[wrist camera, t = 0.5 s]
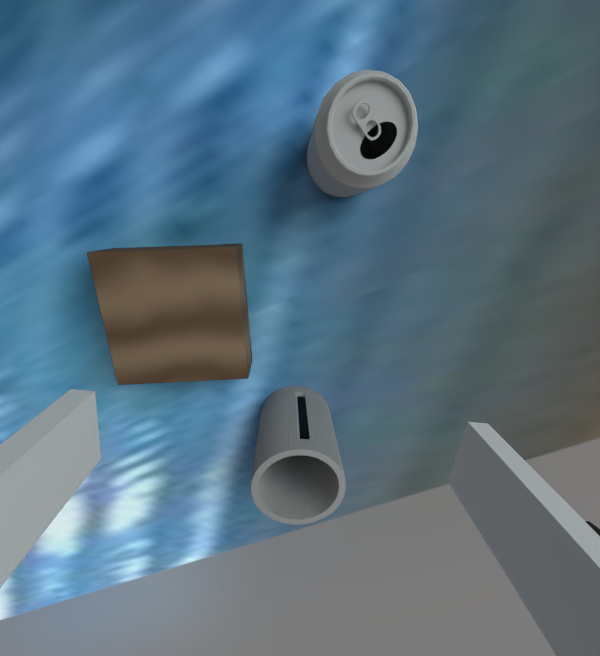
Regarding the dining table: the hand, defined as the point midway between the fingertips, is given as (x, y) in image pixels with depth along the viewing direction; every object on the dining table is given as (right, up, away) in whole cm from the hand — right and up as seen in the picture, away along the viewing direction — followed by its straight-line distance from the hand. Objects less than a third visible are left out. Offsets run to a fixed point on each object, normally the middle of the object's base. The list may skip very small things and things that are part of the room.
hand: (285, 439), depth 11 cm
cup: (0, -8, +31) cm, 32 cm away
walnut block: (-13, +6, +26) cm, 30 cm away
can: (+5, +21, +22) cm, 31 cm away
